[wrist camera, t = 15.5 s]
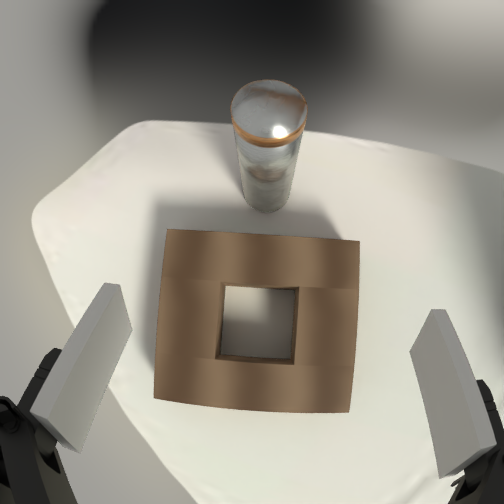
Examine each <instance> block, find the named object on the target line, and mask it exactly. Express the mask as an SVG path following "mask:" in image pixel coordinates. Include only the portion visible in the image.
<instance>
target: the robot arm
mask: <svg viewBox="0 0 504 504" xmlns="http://www.w3.org/2000/svg"><path fill="white" fill-rule="evenodd" d="M131 332H132V327H131V323H130V320H129V317H128V313H127V310H126V306H125V302H124V299H123V295H122V291H121V287H120V285H118V284H111V283H104V284H103V286H102V287H101V289H100V290H99V292H98V293H97V295H96V296H95V298H94V299H93V301H92V302H91V304H90V306H89V307H88V309H87V310H86V312H85V313H84V315H83V317H82V318H81V320H80V322H79V323H78V325H77V326H76V328H75V330H74V331H73V333H72V335H71V337H70V338H69V340H68V342H67V343H66V345H65V347H64V348H63V350H61V349H57V348H54V349H52V350H51V351H50V352H49V353H48V354H47V355H46V356H45V357H44V359H43V360H42V362H41V364H40V365H39V369H37V371H36V372H35V374H34V377H33V378H32V380H31V381H30V383H29V385H28V387H27V389H26V390H25V392H24V394H23V396H22V398H21V400H20V402H19V404H18V405H17V406H16V405H15V404H14V403H13V402H12V401H11V400H10V399H9V398H8V397H5V396H0V504H78V503H77V501H76V499H75V496H74V494H73V492H72V489H71V486H70V484H69V481H68V479H67V476H66V473H65V471H64V468H63V465H62V462H61V460H60V457H59V454H58V451H57V449H56V447H55V446H56V443H57V441H58V442H59V443H60V444H61V445H62V446H63V447H65V448H68V449H70V450H72V451H75V452H78V453H81V451H82V448H83V445H84V443H85V440H86V438H87V435H88V432H89V430H90V427H91V425H92V422H93V420H94V417H95V415H96V412H97V410H98V407H99V405H100V403H101V400H102V398H103V395H104V393H105V391H106V388H107V386H108V384H109V381H110V379H111V377H112V374H113V372H114V370H115V367H116V365H117V363H118V361H119V359H120V356H121V354H122V352H123V350H124V347H125V345H126V343H127V341H128V339H129V337H130V334H131ZM410 355H411V358H412V362H413V365H414V369H415V372H416V376H417V379H418V383H419V387H420V391H421V394H422V398H423V402H424V406H425V410H426V414H427V419H428V423H429V427H430V432H431V437H432V441H433V446H434V451H435V456H436V462H437V467H438V473H439V479H442V478H446V477H450V476H454V475H456V474H458V473H459V472H461V471H462V470H463V469H464V473H465V475H463V476H462V477H460V478H459V479H457V480H456V481H454V482H453V483H452V484H451V486H452V487H453V486H455V485H456V484H458V483H459V484H458V486H457V487H456V488H455V491H454V493H453V495H452V497H451V499H450V501H449V503H448V504H504V429H503V426H502V422H501V419H500V416H499V413H498V410H496V409H497V408H496V405H495V402H493V400H494V399H493V396H492V394H491V391H490V389H489V387H488V386H487V385H486V383H485V382H484V381H483V380H476V379H475V377H474V374H473V372H472V369H471V366H470V364H469V362H468V359H467V357H466V354H465V352H464V349H463V347H462V345H461V342H460V340H459V338H458V336H457V333H456V331H455V329H454V327H453V325H452V322H451V320H450V318H449V316H448V314H447V312H446V310H441V309H431V311H430V313H429V315H428V317H427V319H426V321H425V323H424V325H423V327H422V329H421V331H420V333H419V335H418V337H417V339H416V341H415V342H414V344H413V346H412V348H411V350H410Z"/></svg>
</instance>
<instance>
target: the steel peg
mask: <svg viewBox="0 0 504 504" xmlns="http://www.w3.org/2000/svg"><path fill="white" fill-rule="evenodd" d="M230 111H231V118H232V124H233V127H234V133H235V140H236V147H237V153H238V160H239V167H240V173H241V180H242V187H243V194H244V198H245V200H246V202H247V203H248V204H249V205H250V206H251V207H252V208H253V209H255V210H258V211H261V212H273V211H276V210H278V209H280V208H281V207H283V206H284V205H285V203H286V202H287V200H288V198H289V195H290V190H291V185H292V181H293V176H294V172H295V167H296V162H297V157H298V153H299V148H300V143H301V138H302V134H303V129H304V127H305V123H306V118H307V111H308V109H307V103H306V101H305V99H304V97H303V95H302V94H301V93H300V92H299V91H298V90H297V89H296V88H294V87H293V86H291V85H289V84H287V83H285V82H282V81H277V80H259V81H255V82H252V83H249V84H247V85H245V86H244V87H242V88H241V89H240V90H239V91H238V92H237V93H236V94H235V95H234V97H233V99H232V102H231V106H230Z"/></svg>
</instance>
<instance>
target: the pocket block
mask: <svg viewBox="0 0 504 504" xmlns="http://www.w3.org/2000/svg"><path fill="white" fill-rule="evenodd" d="M359 264H360V241H352V240H338V239H324V238H310V237H295V236H280V235H264V234H248V233H231V232H214V231H196V230H177V229H167V235H166V243H165V251H164V259H163V268H162V278H161V288H160V298H159V310H158V322H157V336H156V353H155V373H154V398H155V399H161V400H167V401H173V402H179V403H186V404H193V405H201V406H209V407H218V408H227V409H238V410H251V411H266V412H289V413H347V412H349V409H350V401H351V392H352V383H353V373H354V363H355V351H356V337H357V321H358V301H359ZM225 286H239V287H253V288H269V289H285V290H295V298H294V314H293V329H292V343H291V357H290V359H277V358H260V357H246V356H234V355H223V354H220V352H221V337H222V324H223V310H224V297H225Z"/></svg>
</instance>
